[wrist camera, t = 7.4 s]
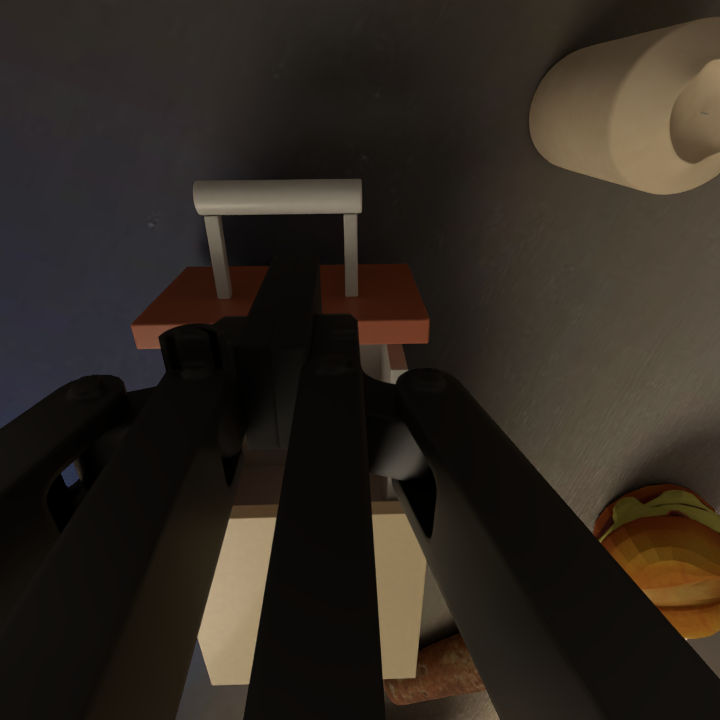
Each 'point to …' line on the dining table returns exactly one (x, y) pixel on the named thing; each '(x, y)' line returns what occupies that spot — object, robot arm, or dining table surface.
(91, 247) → the dining table surface
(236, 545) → the small drawer cabinet
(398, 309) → the drawer
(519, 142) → the dining table surface
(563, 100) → the candle
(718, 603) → the cheeseburger
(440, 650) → the brown sausage
